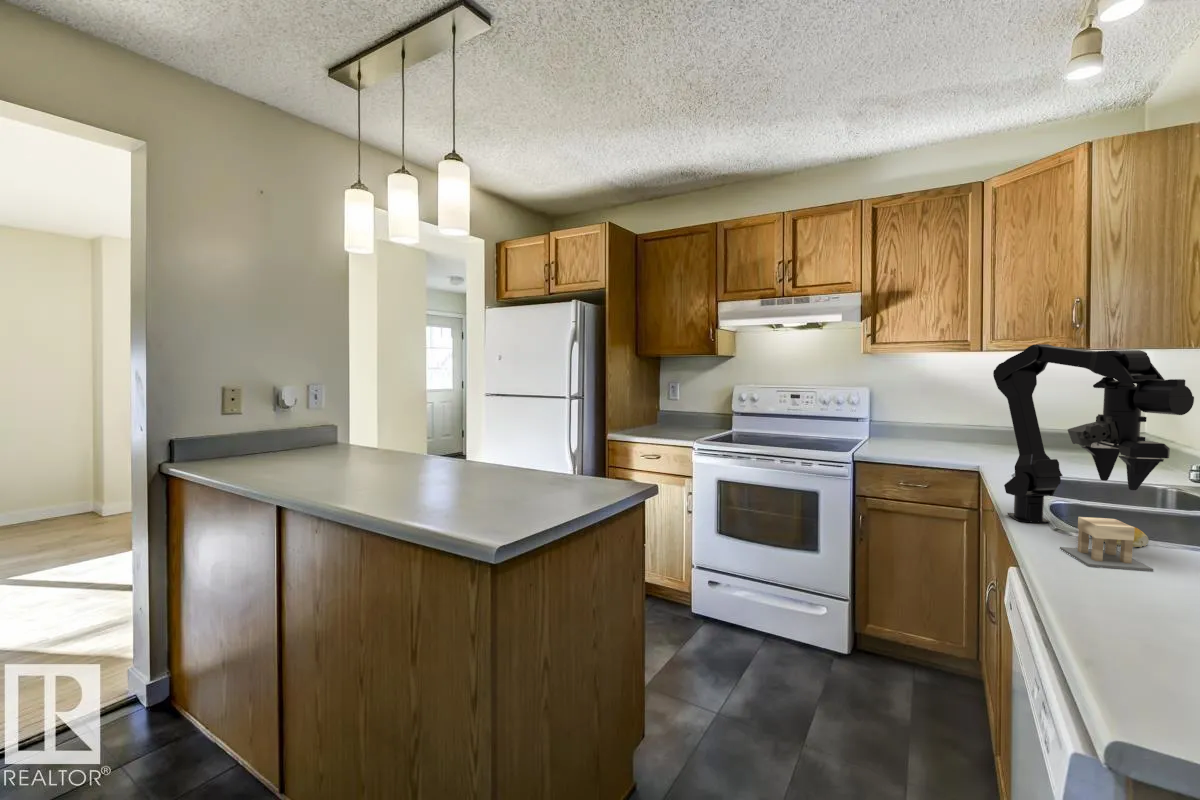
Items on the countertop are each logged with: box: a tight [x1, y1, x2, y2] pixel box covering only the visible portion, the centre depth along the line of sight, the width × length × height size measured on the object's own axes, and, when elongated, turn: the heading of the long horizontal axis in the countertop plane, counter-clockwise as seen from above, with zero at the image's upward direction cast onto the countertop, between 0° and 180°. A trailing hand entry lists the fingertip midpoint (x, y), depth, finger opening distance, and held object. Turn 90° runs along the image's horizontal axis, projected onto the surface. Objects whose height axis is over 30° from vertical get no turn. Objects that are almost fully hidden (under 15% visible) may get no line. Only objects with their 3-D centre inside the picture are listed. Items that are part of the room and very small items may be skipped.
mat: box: [1059, 546, 1154, 572], centre depth 107 cm, size 10×10×1 cm
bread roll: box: [1104, 525, 1149, 548], centre depth 118 cm, size 8×9×4 cm
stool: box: [1077, 516, 1135, 564], centre depth 107 cm, size 6×6×7 cm
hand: (1117, 485), depth 114 cm, fingers open, 9 cm apart
